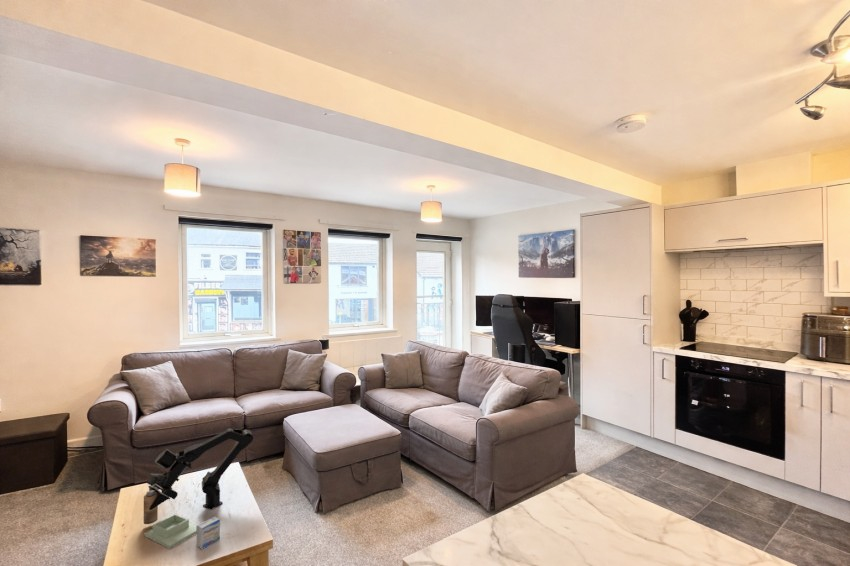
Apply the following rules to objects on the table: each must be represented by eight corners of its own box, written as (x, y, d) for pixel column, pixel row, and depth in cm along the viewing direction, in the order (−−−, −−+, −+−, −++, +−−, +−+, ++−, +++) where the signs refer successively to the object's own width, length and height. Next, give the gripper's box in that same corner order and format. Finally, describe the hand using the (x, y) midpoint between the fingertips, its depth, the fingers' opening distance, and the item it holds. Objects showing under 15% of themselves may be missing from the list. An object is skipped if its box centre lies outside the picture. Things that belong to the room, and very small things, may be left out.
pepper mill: (160, 519, 180) (160, 490, 179) (147, 525, 175) (147, 496, 175) (153, 516, 182) (153, 487, 182) (141, 522, 177) (141, 493, 177)
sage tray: (202, 530, 176) (202, 520, 176) (169, 548, 164) (169, 538, 164) (177, 518, 184) (177, 509, 184) (144, 535, 172) (144, 526, 172)
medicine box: (201, 549, 164) (201, 528, 164) (195, 545, 166) (196, 525, 166) (220, 539, 170) (220, 519, 170) (214, 535, 173) (214, 515, 173)
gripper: (151, 460, 187) (123, 494, 178) (170, 471, 176) (141, 507, 167) (169, 470, 193) (143, 503, 184) (188, 481, 183) (162, 517, 174)
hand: (147, 507), depth 177 cm, fingers closed on pepper mill, 5 cm apart
